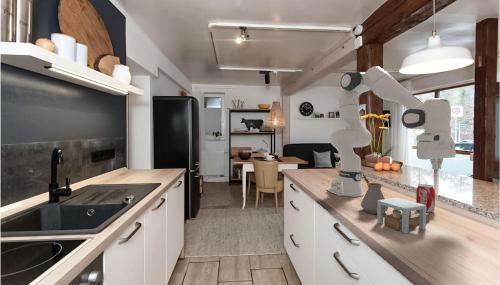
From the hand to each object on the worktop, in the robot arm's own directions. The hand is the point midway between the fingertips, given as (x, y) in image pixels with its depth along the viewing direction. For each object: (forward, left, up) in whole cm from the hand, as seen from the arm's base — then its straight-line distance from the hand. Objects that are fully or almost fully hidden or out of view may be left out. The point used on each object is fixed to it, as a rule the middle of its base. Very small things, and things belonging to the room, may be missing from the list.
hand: (436, 169), depth 102 cm
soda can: (-8, +6, -21) cm, 24 cm away
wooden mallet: (0, -16, -21) cm, 27 cm away
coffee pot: (-21, -14, -21) cm, 33 cm away
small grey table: (0, -21, -21) cm, 30 cm away
